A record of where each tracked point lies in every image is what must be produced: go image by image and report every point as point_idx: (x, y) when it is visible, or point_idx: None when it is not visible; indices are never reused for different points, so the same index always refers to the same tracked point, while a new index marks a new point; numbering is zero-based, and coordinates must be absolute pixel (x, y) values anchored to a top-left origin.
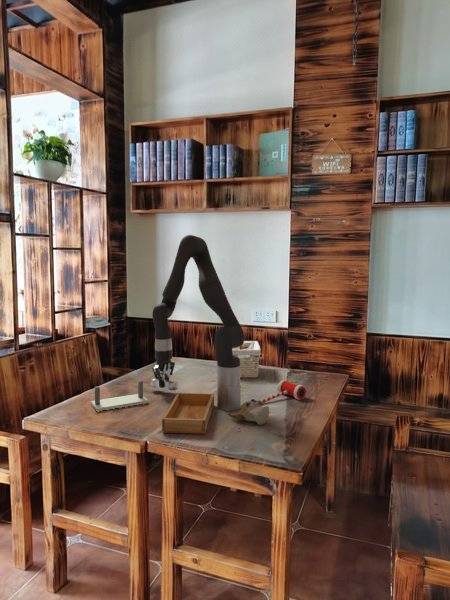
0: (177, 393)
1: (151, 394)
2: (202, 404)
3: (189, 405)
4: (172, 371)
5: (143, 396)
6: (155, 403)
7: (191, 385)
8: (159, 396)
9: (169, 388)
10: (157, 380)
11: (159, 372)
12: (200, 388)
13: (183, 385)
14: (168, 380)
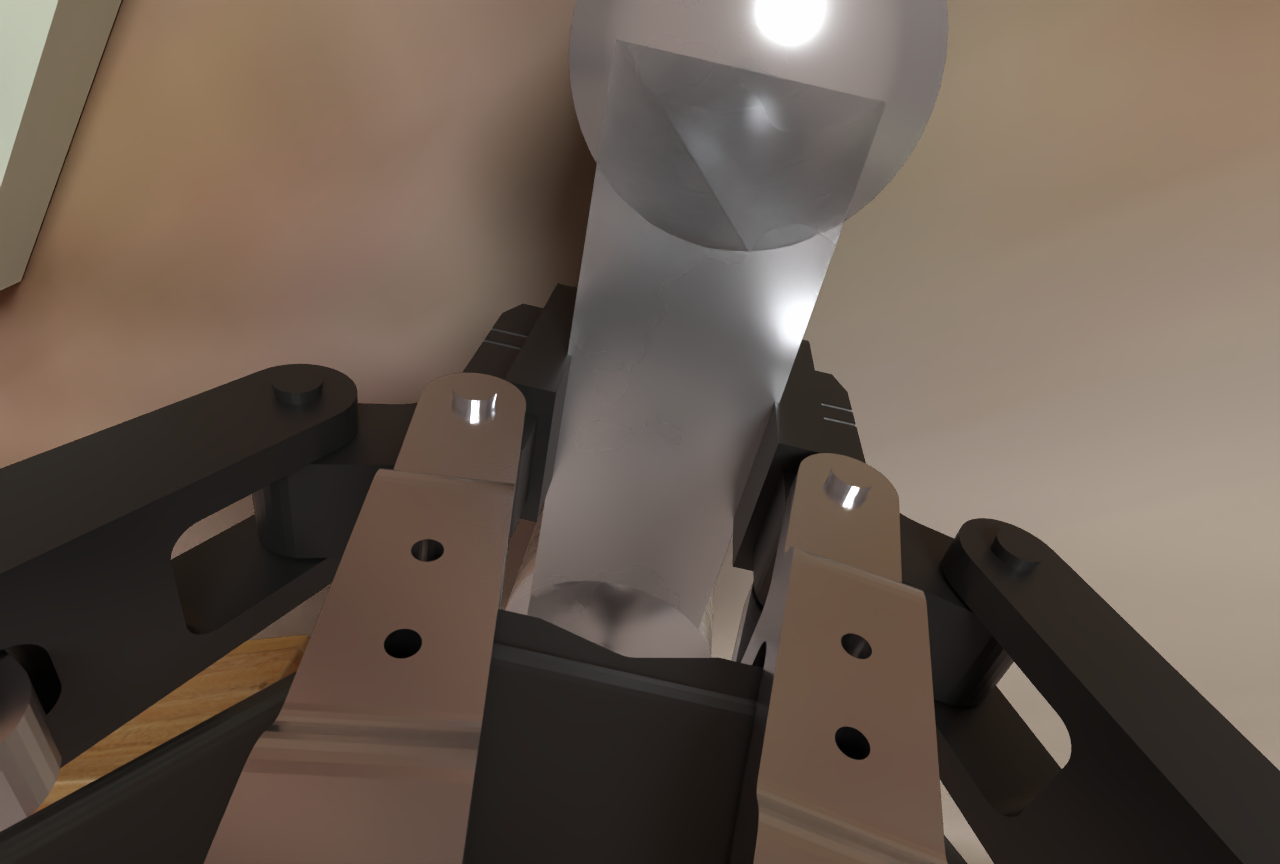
0: None
1: (465, 69)
2: None
3: None
4: (990, 767)
5: (17, 103)
6: (121, 383)
7: (1259, 590)
8: (437, 300)
9: (535, 526)
10: (618, 235)
11: (117, 718)
12: (1058, 721)
13: (1273, 470)
14: (720, 532)
